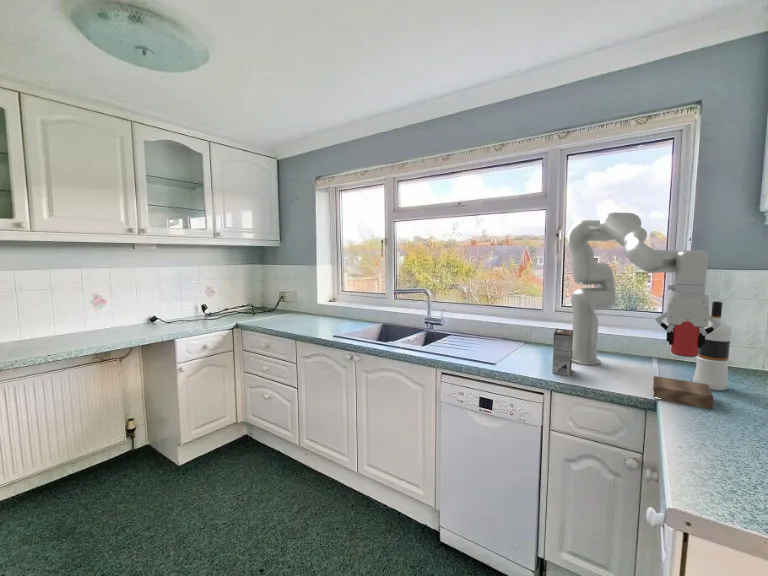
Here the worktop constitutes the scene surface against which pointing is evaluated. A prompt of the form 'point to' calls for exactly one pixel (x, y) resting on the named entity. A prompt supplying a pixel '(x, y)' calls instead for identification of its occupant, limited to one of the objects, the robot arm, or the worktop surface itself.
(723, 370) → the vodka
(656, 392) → the walnut base
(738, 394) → the worktop surface
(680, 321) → the robot arm
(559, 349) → the coffee box
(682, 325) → the beer can
